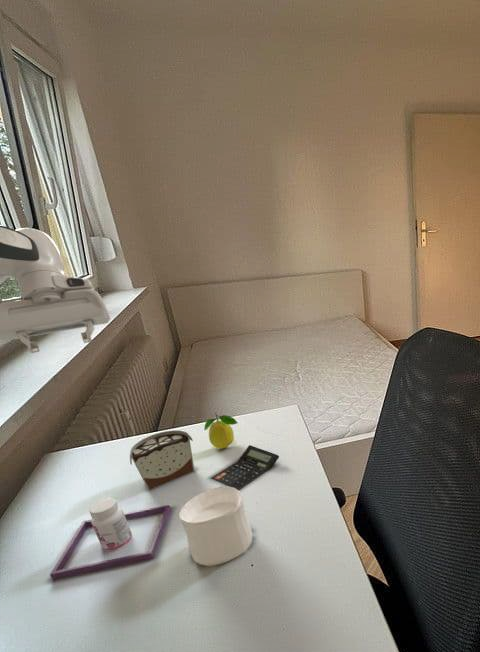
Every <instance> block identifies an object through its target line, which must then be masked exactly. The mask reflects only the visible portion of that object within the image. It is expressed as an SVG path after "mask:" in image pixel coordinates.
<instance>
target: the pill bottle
mask: <svg viewBox="0 0 480 652" xmlns="http://www.w3.org/2000/svg"><path fill="white" fill-rule="evenodd" d="M88 511H89V514H90V517H91V519H90V520H91V523H92V528H93V530H94V533H95V534H96V537H97V539H98V542H99V544H100V547H101V548H102V550H103V551H105V552H112V551H116V550H119V549H121V548H123V547H125V546H126V545H128V544H129V543H130V542H131V540H132V538H133V533H132V529H131V528H130V525H129V523H128V521H127V520H126V517H125V515H124V513H125V512H124V510H123V508H122V507H121V506H119V505H118V502H117V500H116V499H115V498H114V497H107V498H106V497H105V498H103V499H100V500H98V501H96V502H95V503H93V504H92V505H91V506H90V507H89V508H88Z"/></svg>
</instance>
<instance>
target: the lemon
mask: <svg viewBox="0 0 480 652" xmlns="http://www.w3.org/2000/svg"><path fill="white" fill-rule="evenodd" d="M214 415H215V417H216V418H209V419H207V420H206V421H205V424H204V431H207V430H208V429H209V430H208V439H209V442H210V444H211V445H212V446H213V447H214V448H216V449H226V448H227V447H229V446H230V445H232V444H233V443H234V439H235V435H234V433H235V432H234V430H233V428H232V425H237V424H238V422H237V419H235V418H234V417H232V416H231V415H226V414H223V415H218V414H217V412H214Z"/></svg>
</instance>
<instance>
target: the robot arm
mask: <svg viewBox="0 0 480 652" xmlns="http://www.w3.org/2000/svg"><path fill="white" fill-rule="evenodd" d="M9 277H12V278H15V279H16V280H17V283H18V287H19V290H20V294H21V296H19V297H18V296H17V297H12V298H7V299H0V339H1V340H2V341H4V342H6V341H12V340H18V339H19V340H20V341H21V343H23V345H26V346H27V350H28V351H29V353H30V354H35V353H39V352H40V349H39V348H40V347H39V344H38V343H37V342H36V340H34V341H30V340H31V339H30V337H34V336H41V335H42V336H43V335H46V334H53V333H58V332H64V331H69V330H71V331H72V330H75V329H82V328H85V331H83V332H80V334H81V338H82V341H83V344H87V343H92V342H93V340H92V335H93V333H94V330H95V326H100V325H105V324H108V323H109V321H110V320H111V317H110V313H109V311H108V308H107V306H106V304H105V302H104V299H103V298H102V296H101V295H100V293H99V292H98V291H97V290H95V288H94V285H93V283H92V282H91V280H90V279H88V278H82V277H72V276H71V277H70V276H66V274H65V265H64V262H63V259H62V256H61V253H60V250H59V248H58V247H57V245H56V244H55V241H54V240H53V239H52V238H51V237H50V236H49V235H48V234H47V233H45V232H44V231H42V230H39V229H36V228H33V227H21V228H18V229H17V228H16V229H15V228H11V227H8V226H4V225H2V224H0V288H1V287H2V285H3V284H4V282H6V280H8V278H9Z"/></svg>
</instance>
